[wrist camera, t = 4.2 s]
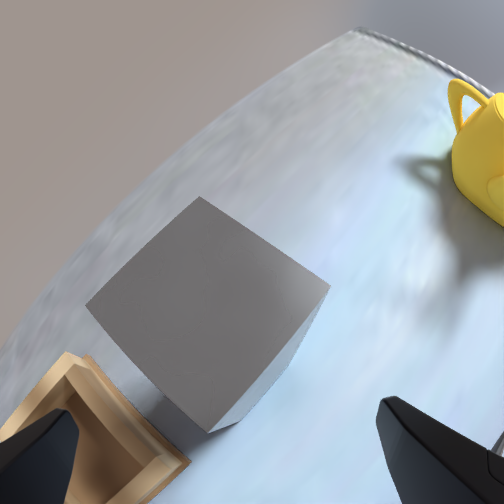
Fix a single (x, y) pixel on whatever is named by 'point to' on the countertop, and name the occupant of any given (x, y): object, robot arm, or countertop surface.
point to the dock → (101, 436)
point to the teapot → (479, 149)
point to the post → (210, 313)
